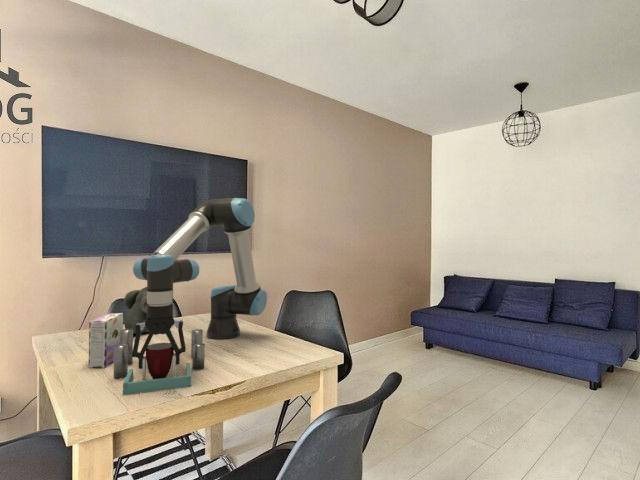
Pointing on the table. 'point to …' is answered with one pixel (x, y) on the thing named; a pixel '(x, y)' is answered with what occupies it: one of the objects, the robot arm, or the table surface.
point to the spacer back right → (127, 342)
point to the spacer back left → (196, 337)
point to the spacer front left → (198, 356)
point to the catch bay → (155, 383)
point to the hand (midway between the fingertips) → (159, 376)
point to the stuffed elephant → (136, 309)
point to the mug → (159, 359)
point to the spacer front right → (120, 361)
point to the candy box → (104, 339)
